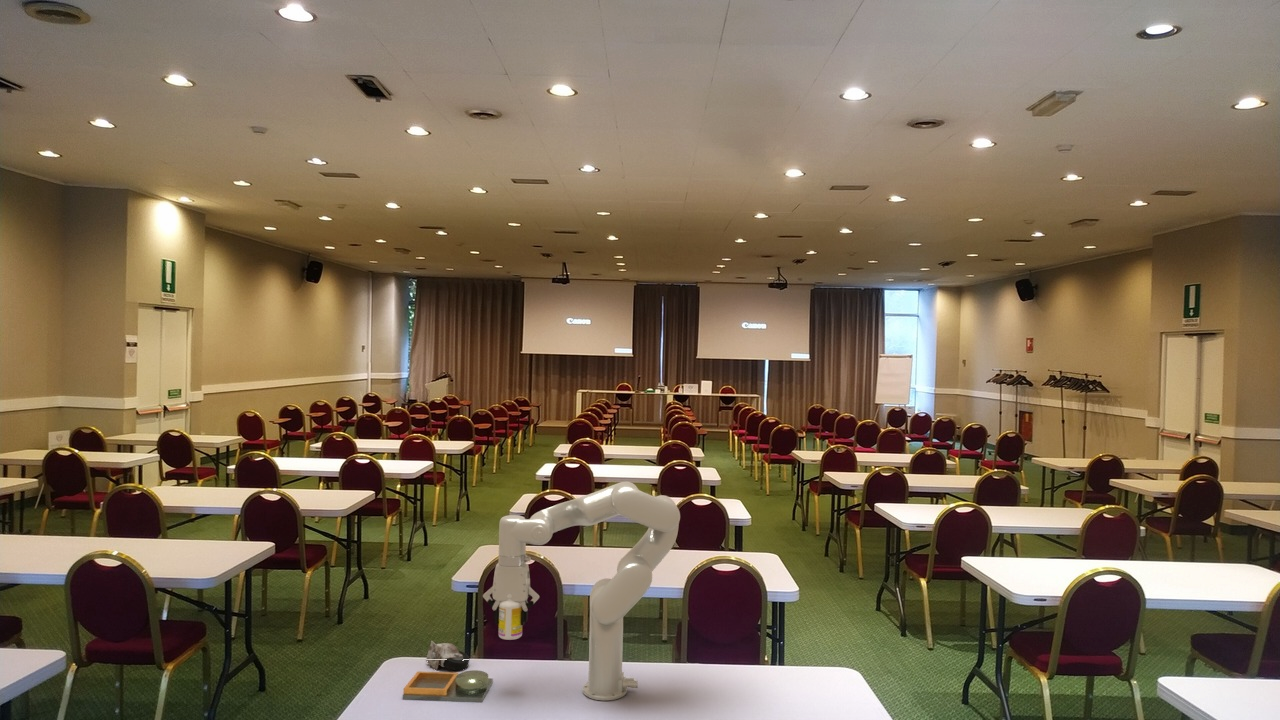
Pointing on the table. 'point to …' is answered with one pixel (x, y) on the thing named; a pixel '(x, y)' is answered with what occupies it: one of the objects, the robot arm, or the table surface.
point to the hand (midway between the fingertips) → (510, 623)
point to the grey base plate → (448, 686)
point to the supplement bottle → (510, 619)
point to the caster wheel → (447, 656)
